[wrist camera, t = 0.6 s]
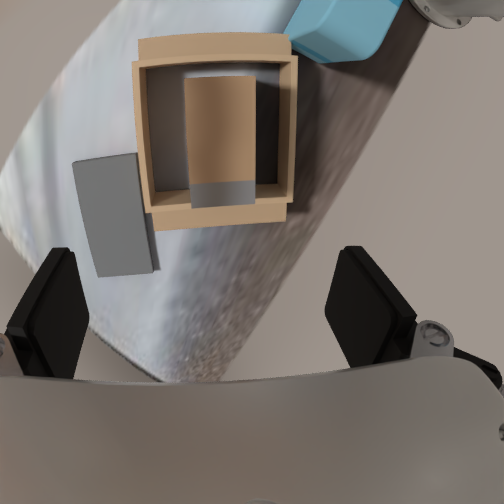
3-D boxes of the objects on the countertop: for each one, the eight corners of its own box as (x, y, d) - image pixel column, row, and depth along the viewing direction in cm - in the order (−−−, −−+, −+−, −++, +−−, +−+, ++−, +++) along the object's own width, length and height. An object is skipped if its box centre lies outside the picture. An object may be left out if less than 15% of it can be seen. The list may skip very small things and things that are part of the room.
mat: (136, 152, 30) (135, 154, 29) (153, 269, 37) (153, 273, 36) (74, 161, 29) (71, 163, 28) (99, 273, 36) (98, 277, 35)
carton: (286, 39, 26) (298, 35, 23) (281, 205, 36) (291, 220, 32) (139, 44, 24) (131, 40, 21) (152, 215, 34) (148, 231, 30)
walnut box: (239, 76, 28) (255, 75, 20) (240, 172, 33) (255, 204, 25) (187, 79, 27) (184, 78, 20) (191, 175, 32) (191, 208, 25)
